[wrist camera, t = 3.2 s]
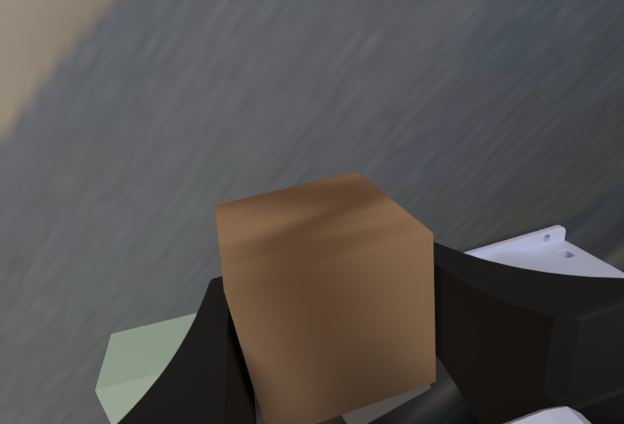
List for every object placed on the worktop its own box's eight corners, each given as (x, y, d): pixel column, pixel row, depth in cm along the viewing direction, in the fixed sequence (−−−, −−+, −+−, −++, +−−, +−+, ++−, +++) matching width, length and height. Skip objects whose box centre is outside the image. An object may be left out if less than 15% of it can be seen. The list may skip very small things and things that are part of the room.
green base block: (224, 304, 22) (229, 354, 19) (242, 380, 25) (250, 436, 21) (112, 331, 21) (95, 390, 18) (143, 408, 24) (134, 473, 20)
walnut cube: (357, 171, 14) (433, 233, 9) (369, 286, 16) (436, 381, 12) (214, 205, 13) (223, 291, 8) (248, 323, 15) (269, 440, 11)
